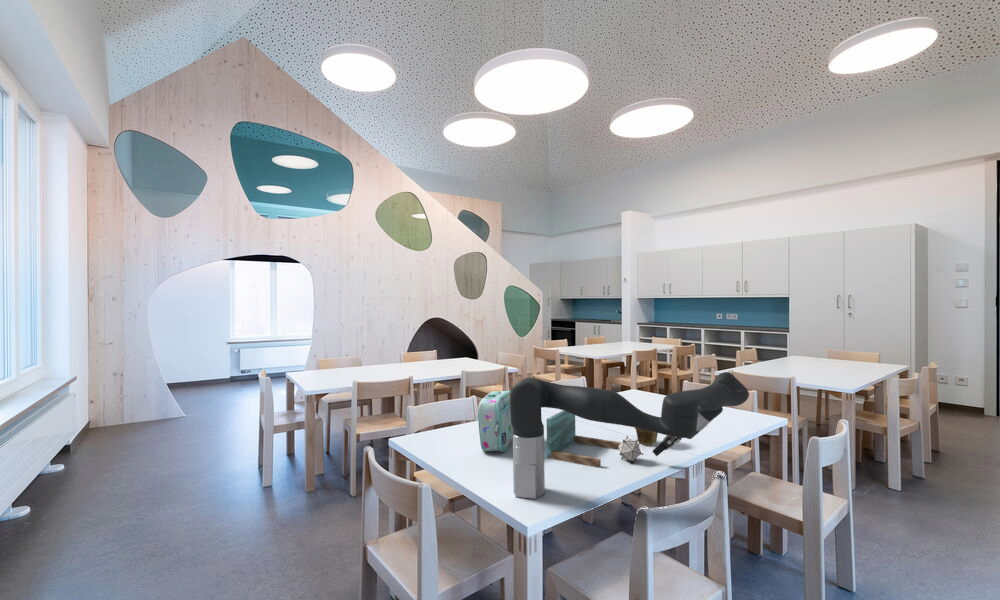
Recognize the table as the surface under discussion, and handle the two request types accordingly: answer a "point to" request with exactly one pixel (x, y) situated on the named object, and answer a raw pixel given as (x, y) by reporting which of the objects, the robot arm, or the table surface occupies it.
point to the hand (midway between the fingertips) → (654, 453)
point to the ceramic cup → (646, 437)
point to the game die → (629, 449)
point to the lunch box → (495, 421)
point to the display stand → (570, 440)
